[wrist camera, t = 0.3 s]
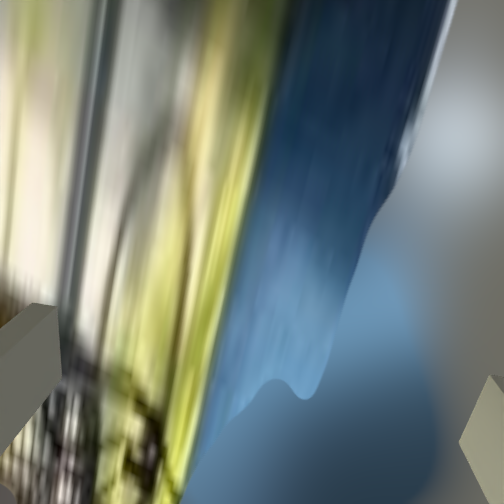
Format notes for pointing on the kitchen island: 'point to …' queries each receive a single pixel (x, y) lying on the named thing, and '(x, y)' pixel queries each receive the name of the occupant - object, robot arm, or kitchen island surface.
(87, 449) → the kitchen island surface
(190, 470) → the kitchen island surface
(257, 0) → the kitchen island surface
